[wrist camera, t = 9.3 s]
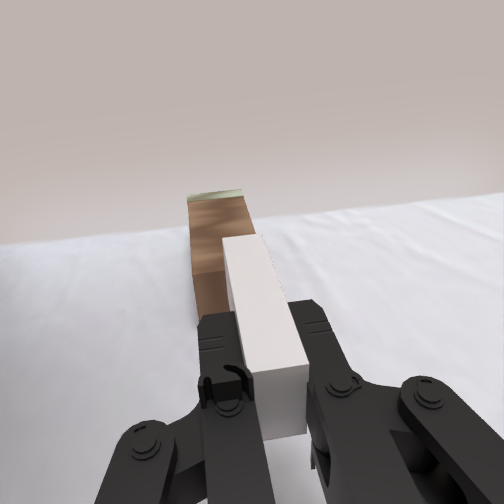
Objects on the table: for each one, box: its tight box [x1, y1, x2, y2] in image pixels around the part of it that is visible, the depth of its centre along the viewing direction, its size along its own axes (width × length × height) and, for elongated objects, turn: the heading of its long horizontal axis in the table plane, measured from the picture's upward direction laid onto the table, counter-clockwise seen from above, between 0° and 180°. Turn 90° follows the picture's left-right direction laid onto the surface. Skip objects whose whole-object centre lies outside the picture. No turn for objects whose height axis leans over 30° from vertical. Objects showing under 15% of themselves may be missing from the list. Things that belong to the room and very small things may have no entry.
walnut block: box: [187, 189, 256, 322], centre depth 35 cm, size 5×5×13 cm
